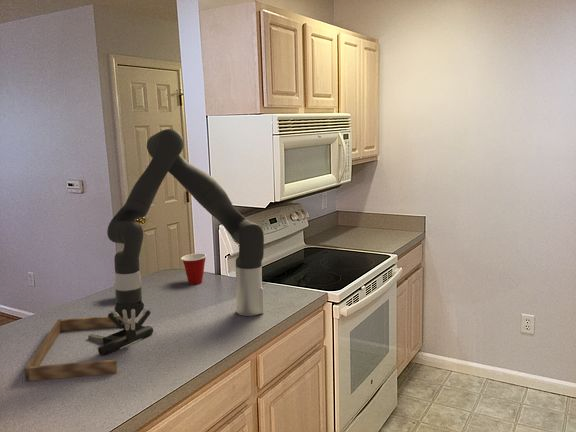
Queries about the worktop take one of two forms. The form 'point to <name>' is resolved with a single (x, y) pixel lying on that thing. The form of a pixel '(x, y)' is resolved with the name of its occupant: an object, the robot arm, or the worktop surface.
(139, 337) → the door handle
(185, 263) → the plastic cup
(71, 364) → the box
